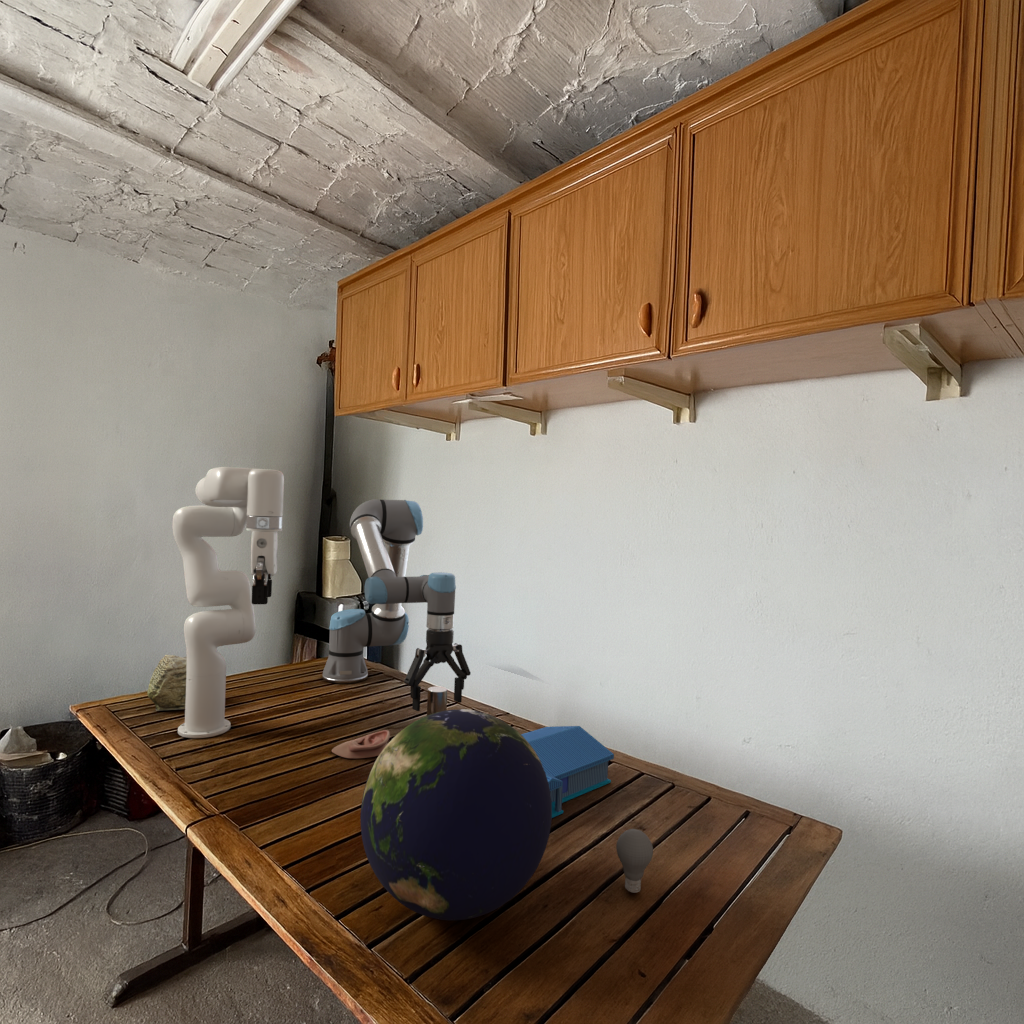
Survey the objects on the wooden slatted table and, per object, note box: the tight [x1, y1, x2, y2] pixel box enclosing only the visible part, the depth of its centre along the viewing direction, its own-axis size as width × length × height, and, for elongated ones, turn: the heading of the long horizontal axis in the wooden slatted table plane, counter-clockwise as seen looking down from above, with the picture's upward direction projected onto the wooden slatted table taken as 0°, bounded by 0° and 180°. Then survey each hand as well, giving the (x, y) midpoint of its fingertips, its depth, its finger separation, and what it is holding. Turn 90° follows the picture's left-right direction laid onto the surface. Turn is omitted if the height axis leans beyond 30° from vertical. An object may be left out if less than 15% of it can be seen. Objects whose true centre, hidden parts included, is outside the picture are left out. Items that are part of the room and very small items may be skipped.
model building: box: [520, 725, 615, 819], centre depth 140 cm, size 39×24×10 cm, turn 132°
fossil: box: [147, 654, 187, 712], centre depth 185 cm, size 9×18×15 cm, turn 132°
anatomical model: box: [331, 729, 391, 759], centre depth 159 cm, size 13×4×12 cm
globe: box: [360, 708, 553, 922], centre depth 100 cm, size 30×30×30 cm
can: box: [426, 685, 448, 716], centre depth 175 cm, size 5×5×11 cm
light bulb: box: [615, 828, 654, 894], centre depth 106 cm, size 6×6×10 cm
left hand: (261, 600), depth 142 cm, fingers open, 9 cm apart
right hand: (437, 705), depth 175 cm, fingers open, 13 cm apart
